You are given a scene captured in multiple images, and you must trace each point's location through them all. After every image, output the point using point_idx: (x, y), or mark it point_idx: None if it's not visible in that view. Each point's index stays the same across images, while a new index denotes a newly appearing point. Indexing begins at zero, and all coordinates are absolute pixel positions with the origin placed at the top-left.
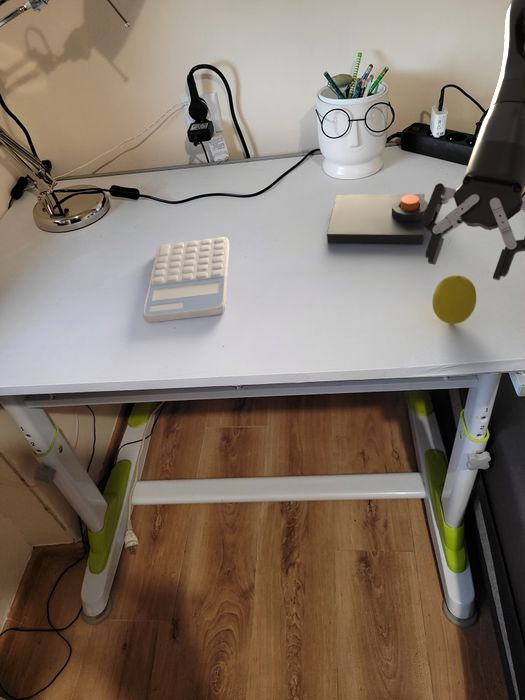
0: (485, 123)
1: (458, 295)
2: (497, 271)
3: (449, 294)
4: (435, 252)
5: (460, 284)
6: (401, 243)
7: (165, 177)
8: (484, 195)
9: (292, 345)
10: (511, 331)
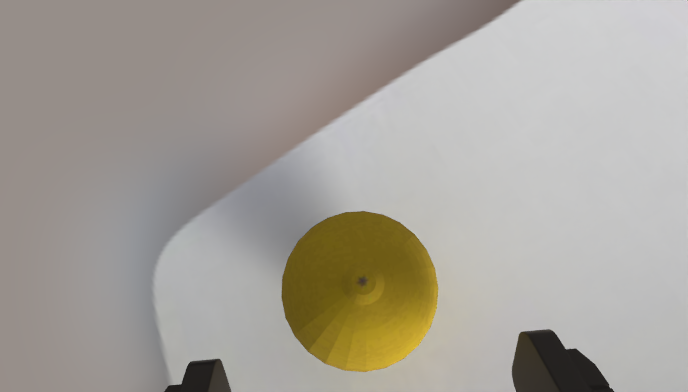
0: None
1: (328, 227)
2: (196, 379)
3: (362, 218)
4: (549, 369)
5: (339, 260)
6: None
7: None
8: None
9: (655, 13)
10: (185, 342)
